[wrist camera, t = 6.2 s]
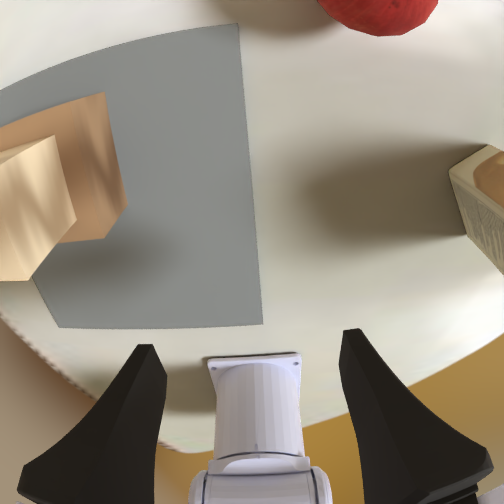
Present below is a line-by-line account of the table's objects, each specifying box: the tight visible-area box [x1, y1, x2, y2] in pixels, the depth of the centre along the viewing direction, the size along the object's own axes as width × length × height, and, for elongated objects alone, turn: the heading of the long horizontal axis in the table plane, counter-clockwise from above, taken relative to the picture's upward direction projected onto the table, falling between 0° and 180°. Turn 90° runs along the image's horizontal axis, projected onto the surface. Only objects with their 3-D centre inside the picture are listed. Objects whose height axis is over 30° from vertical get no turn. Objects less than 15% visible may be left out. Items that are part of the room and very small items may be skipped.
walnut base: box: [0, 92, 128, 243], centre depth 15 cm, size 7×7×4 cm
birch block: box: [0, 135, 77, 281], centre depth 11 cm, size 4×4×5 cm
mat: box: [0, 23, 263, 329], centre depth 19 cm, size 20×18×1 cm
